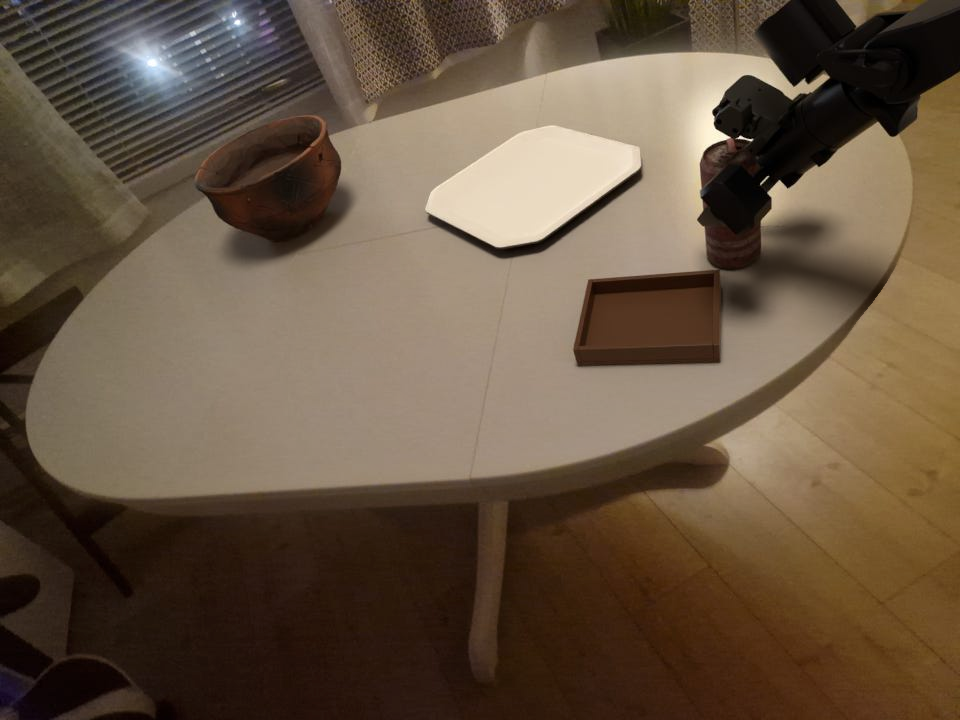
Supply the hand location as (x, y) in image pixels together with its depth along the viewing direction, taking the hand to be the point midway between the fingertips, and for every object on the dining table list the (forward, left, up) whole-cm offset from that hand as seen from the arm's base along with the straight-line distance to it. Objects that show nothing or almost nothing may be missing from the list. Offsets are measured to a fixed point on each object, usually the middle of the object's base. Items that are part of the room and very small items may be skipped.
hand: (722, 200), depth 75 cm
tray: (+8, +13, -7) cm, 17 cm away
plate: (+29, -20, -8) cm, 36 cm away
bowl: (+75, -20, -8) cm, 78 cm away
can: (-1, +1, -8) cm, 8 cm away
